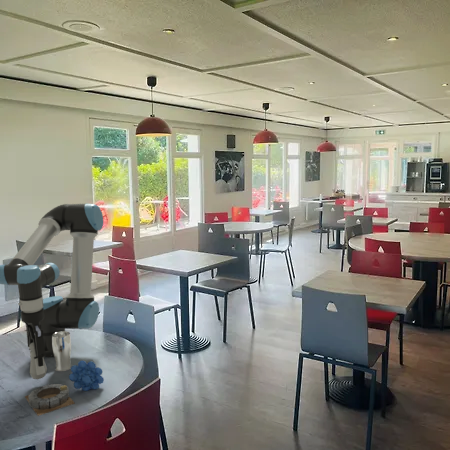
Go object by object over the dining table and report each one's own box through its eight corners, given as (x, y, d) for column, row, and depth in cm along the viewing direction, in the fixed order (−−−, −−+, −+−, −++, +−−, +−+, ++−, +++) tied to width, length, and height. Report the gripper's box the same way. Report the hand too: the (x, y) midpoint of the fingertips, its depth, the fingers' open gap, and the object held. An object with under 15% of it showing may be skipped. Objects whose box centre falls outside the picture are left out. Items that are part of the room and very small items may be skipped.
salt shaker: (33, 373, 169) (30, 340, 167) (49, 372, 169) (46, 339, 167) (28, 381, 163) (24, 346, 161) (44, 380, 164) (41, 345, 161)
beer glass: (76, 368, 182) (74, 331, 180) (65, 375, 176) (62, 338, 174) (62, 365, 185) (59, 330, 183) (50, 373, 178) (47, 336, 176)
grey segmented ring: (25, 398, 157) (24, 390, 156) (61, 387, 164) (61, 379, 164) (35, 413, 147) (34, 404, 147) (74, 400, 154) (73, 392, 154)
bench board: (24, 399, 158) (24, 396, 158) (59, 388, 166) (59, 385, 166) (38, 419, 146) (37, 415, 146) (75, 406, 153) (75, 403, 153)
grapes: (69, 400, 157) (67, 367, 155) (70, 391, 163) (68, 359, 162) (104, 395, 160) (102, 362, 159) (104, 386, 167) (102, 355, 165)
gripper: (14, 305, 167) (20, 364, 171) (28, 319, 152) (34, 383, 156) (35, 300, 172) (41, 358, 175) (51, 313, 157) (57, 376, 161)
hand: (38, 370), depth 166 cm, fingers closed on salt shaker, 6 cm apart
